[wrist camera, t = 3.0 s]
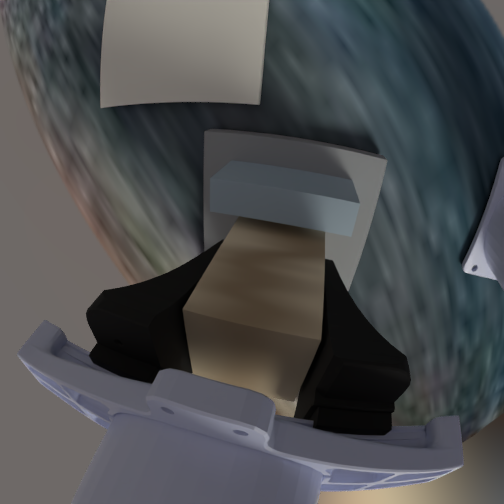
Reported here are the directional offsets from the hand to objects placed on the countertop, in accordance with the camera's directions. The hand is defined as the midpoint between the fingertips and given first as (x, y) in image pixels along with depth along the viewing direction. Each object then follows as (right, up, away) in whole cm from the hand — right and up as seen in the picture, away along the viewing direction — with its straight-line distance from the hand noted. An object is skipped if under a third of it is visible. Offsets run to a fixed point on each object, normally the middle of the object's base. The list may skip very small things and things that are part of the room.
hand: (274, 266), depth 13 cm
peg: (+1, +1, +2) cm, 2 cm away
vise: (+1, +2, +3) cm, 3 cm away
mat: (-5, +15, -4) cm, 16 cm away
